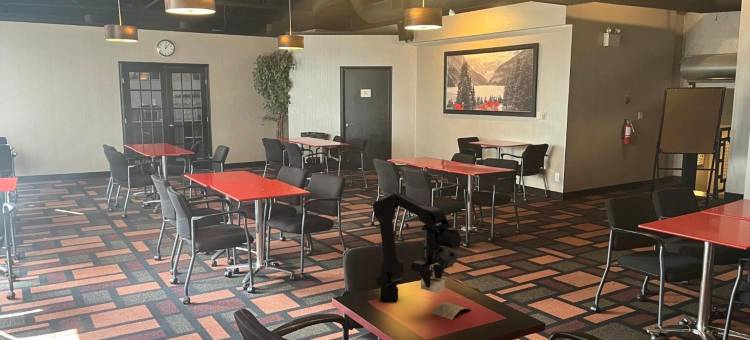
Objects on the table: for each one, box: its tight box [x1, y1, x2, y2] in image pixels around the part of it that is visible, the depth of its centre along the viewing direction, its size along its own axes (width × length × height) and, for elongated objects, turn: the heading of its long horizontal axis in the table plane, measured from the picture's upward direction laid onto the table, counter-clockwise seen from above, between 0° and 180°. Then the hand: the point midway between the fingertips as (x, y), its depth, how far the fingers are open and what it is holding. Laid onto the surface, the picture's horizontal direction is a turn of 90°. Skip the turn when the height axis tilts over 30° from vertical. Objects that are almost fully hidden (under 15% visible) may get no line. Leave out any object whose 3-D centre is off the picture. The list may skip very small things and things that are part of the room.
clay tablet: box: [431, 302, 471, 321], centre depth 216 cm, size 14×10×3 cm
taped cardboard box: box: [420, 276, 446, 293], centre depth 211 cm, size 7×5×4 cm
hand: (432, 285), depth 211 cm, fingers closed on taped cardboard box, 5 cm apart
